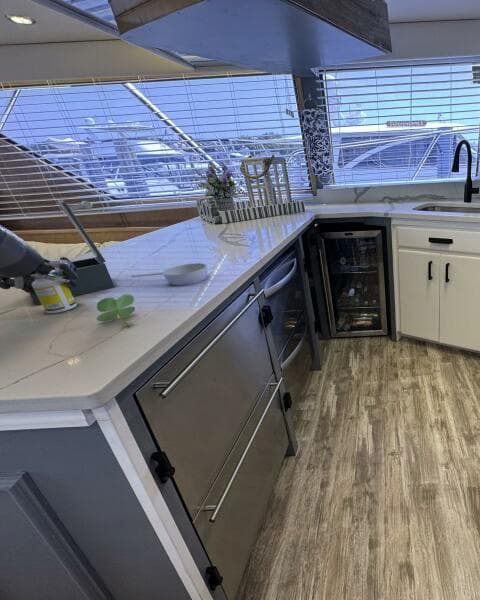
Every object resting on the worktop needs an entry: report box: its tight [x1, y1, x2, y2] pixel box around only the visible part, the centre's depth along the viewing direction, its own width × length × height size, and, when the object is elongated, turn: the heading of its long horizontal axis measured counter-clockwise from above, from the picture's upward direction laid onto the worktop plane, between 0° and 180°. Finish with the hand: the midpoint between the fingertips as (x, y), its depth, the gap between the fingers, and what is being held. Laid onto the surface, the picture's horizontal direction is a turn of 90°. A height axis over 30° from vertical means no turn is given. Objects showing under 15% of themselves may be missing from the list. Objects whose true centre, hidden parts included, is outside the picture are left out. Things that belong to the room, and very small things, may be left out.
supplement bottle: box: [32, 271, 77, 314], centre depth 75 cm, size 5×5×10 cm
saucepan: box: [131, 262, 208, 286], centre depth 91 cm, size 11×18×4 cm, turn 114°
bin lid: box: [56, 199, 107, 263], centre depth 89 cm, size 16×13×6 cm
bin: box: [29, 256, 115, 306], centre depth 88 cm, size 16×13×7 cm
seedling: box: [96, 293, 136, 327], centre depth 68 cm, size 7×8×6 cm
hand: (55, 288), depth 76 cm, fingers open, 6 cm apart
